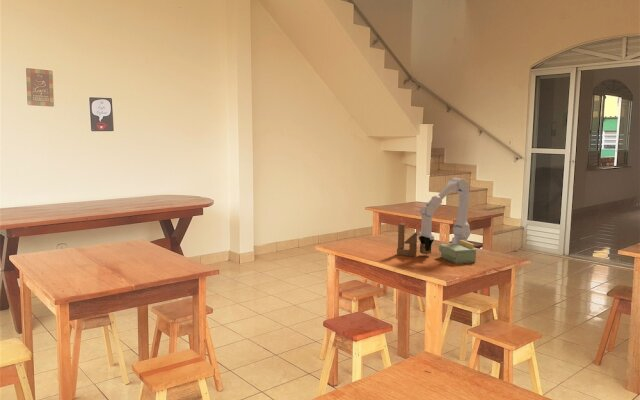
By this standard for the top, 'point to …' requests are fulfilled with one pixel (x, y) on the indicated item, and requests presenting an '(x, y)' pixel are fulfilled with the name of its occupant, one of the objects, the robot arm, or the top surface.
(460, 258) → the toolbox
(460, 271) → the top surface
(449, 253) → the lid
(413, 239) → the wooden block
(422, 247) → the small brown cube
